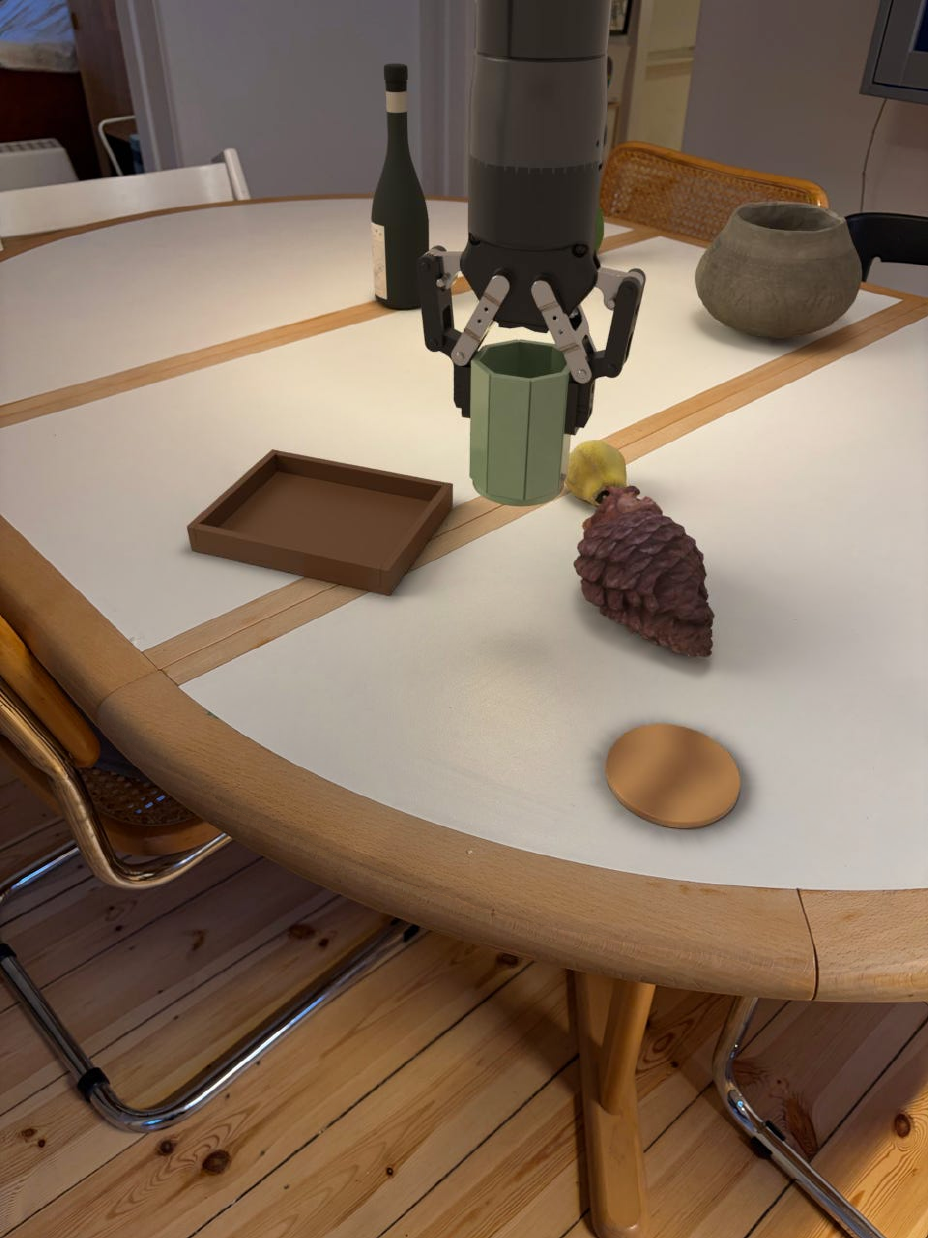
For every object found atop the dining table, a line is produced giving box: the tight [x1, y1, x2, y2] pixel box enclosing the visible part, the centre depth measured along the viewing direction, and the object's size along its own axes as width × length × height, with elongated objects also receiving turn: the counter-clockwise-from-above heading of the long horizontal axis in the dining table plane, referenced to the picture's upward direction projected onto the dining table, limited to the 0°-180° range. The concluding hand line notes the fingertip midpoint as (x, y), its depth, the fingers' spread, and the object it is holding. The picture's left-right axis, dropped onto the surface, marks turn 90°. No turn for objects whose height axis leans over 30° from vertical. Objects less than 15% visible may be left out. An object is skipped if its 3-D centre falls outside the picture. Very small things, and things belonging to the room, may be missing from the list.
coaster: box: [605, 723, 741, 829], centre depth 64 cm, size 9×9×1 cm
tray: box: [186, 448, 454, 596], centre depth 87 cm, size 20×16×3 cm
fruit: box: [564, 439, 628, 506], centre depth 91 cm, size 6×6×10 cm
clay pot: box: [694, 200, 863, 339], centre depth 125 cm, size 22×21×15 cm
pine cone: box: [572, 484, 716, 658], centre depth 75 cm, size 18×10×10 cm
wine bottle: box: [370, 63, 430, 310], centre depth 127 cm, size 8×8×30 cm
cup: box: [468, 338, 572, 507], centre depth 62 cm, size 6×6×9 cm
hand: (521, 420), depth 62 cm, fingers closed on cup, 6 cm apart
